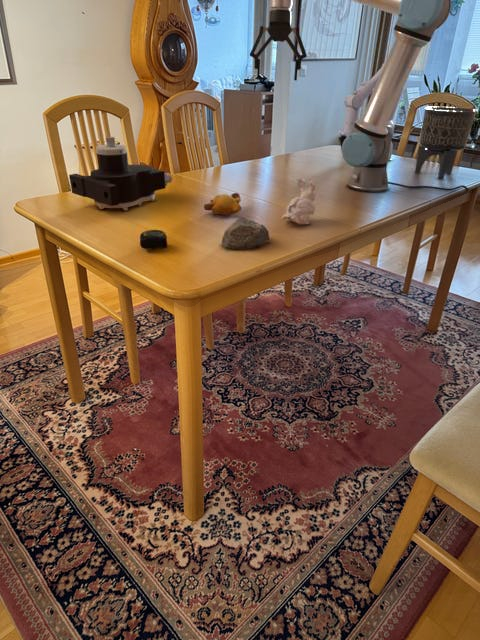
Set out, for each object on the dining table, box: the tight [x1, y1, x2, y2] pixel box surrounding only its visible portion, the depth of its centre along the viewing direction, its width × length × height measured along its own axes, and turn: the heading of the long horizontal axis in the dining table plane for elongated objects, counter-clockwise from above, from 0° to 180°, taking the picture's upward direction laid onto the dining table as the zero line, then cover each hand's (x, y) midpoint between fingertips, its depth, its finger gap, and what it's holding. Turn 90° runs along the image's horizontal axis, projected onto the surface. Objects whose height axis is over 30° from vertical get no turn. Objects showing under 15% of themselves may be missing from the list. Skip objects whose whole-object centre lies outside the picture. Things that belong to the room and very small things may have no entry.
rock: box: [221, 216, 270, 250], centre depth 119 cm, size 13×9×6 cm, turn 131°
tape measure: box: [139, 229, 168, 250], centre depth 117 cm, size 7×7×4 cm
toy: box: [203, 192, 242, 216], centre depth 145 cm, size 11×6×15 cm
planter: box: [414, 106, 477, 180], centre depth 193 cm, size 20×20×26 cm
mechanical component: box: [68, 136, 173, 211], centre depth 148 cm, size 22×21×30 cm
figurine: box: [281, 177, 316, 225], centre depth 135 cm, size 8×15×13 cm, turn 145°
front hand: (276, 80), depth 166 cm, fingers open, 13 cm apart
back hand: (346, 153), depth 218 cm, fingers closed on canister, 5 cm apart
